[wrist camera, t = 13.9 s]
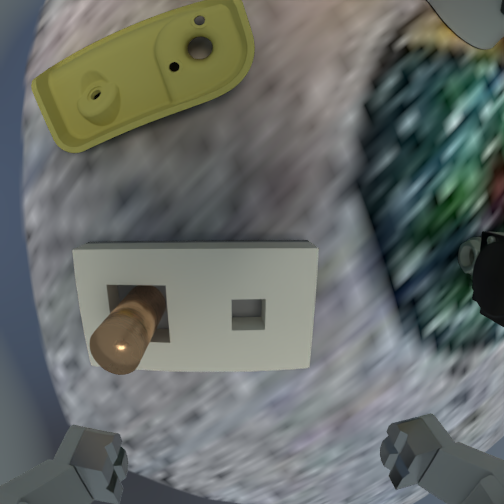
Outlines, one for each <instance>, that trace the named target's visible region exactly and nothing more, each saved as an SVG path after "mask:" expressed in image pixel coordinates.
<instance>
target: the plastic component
mask: <svg viewBox="0 0 504 504" xmlns="http://www.w3.org/2000/svg"><path fill="white" fill-rule="evenodd" d="M198 16H203V17H204V18H205V23H204V24H203V25H196V24H195V23H194V19H195V18H196V17H198ZM196 37H205V38H208V39H209V40H210V41H211V43H212V46H213V48H212V52H211V54H210V55H209V56H208V57H206V58H204V59H195V58H193V57H191V56H190V55H189V53H188V44H189V42H190V41H191V40H192V39H194V38H196ZM254 49H255V46H254V38H253V34H252V31H251V27H250V24H249V21H248V18H247V15H246V12H245V9H244V6H243V3H242V1H241V0H204V1H200V2H197V3H193V4H190V5H187V6H183V7H180V8H177V9H174V10H171V11H168V12H165V13H162V14H159V15H157V16H154V17H151V18H149V19H146V20H144V21H141V22H139V23H136V24H134V25H131V26H129V27H127V28H124V29H122V30H120V31H118V32H115V33H113V34H111V35H109V36H107V37H105V38H103V39H101V40H99V41H97V42H95V43H93V44H91V45H89V46H87V47H85V48H83V49H81V50H79V51H78V52H76V53H74V54H72V55H70V56H69V57H67V58H65V59H63V60H62V61H60V62H59V63H57V64H55V65H54V66H52V67H51V68H49V69H48V70H46V71H45V72H43V73H42V74H40V75H39V76H37V77H36V78H35V79H33V81H32V85H31V86H32V91H33V94H34V96H35V99H36V101H37V103H38V106H39V108H40V110H41V113H42V115H43V117H44V120H45V122H46V124H47V126H48V128H49V131H50V133H51V135H52V137H53V139H54V141H55V143H56V144H57V145H58V146H59V147H60V148H61V149H62V150H65V151H67V152H70V153H79V152H83V151H85V150H87V149H89V148H91V147H93V146H95V145H98V144H100V143H102V142H104V141H106V140H109V139H111V138H113V137H115V136H118V135H120V134H122V133H125V132H127V131H129V130H132V129H134V128H137V127H139V126H142V125H144V124H147V123H149V122H152V121H155V120H157V119H160V118H163V117H165V116H168V115H171V114H174V113H176V112H179V111H182V110H185V109H188V108H190V107H193V106H196V105H199V104H202V103H204V102H207V101H209V100H212V99H214V98H216V97H219V96H221V95H223V94H225V93H226V92H228V91H230V90H231V89H233V88H234V87H235V86H237V85H238V84H239V83H240V82H241V81H242V80H243V78H244V77H245V76H246V74H247V73H248V71H249V69H250V67H251V65H252V62H253V58H254ZM172 62H177V63H178V64H179V66H180V67H179V70H178V71H175V72H173V71H171V70H170V67H169V66H170V64H171V63H172ZM98 93H101V94H100V96H99V97H98V98H97V99H95V100H94V97H95V95H96V94H98Z"/></svg>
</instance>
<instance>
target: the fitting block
mask: <svg viewBox="0 0 504 504" xmlns="http://www.w3.org/2000/svg"><path fill="white" fill-rule="evenodd" d="M72 251H73V261H74V270H75V279H76V286H77V293H78V300H79V306H80V312H81V318H82V324H83V329H84V334H85V339H86V344H87V349H88V353H89V358H90V362H91V366H100V365H99V364H98V363H97V362H96V361H95V359H94V358H93V356H92V354H91V351H90V338H91V336H92V334H93V333H94V331H95V330H96V329H97V328H98V327H99V326H100V324H101V323H102V322H103V321H104V320H105V319H106V318H107V317H108V315H109V314H110V313H111V312H112V311H113V310H114V309H115V308H116V306H117V305H118V304H119V303H120V302H121V301H122V300H123V299H124V298H125V296H126V295H127V294H128V293H129V292H130V291H131V290H132V289H133V288H134V287H136V286H138V285H152V286H154V287H156V288H157V289H158V290H159V291H160V292H161V293H162V294H163V296H164V298H165V302H166V309H165V312H164V314H163V316H162V318H161V320H160V322H159V324H158V326H157V328H156V330H155V332H154V334H153V336H152V338H151V340H150V343H149V345H148V347H147V349H146V351H145V353H144V355H143V357H142V359H141V361H140V363H139V365H138V367H137V368H136V370H153V371H179V372H245V371H271V370H288V369H302V368H309V363H310V354H311V344H312V334H313V323H314V311H315V298H316V284H317V269H318V251H319V248H318V247H316V246H315V245H313V244H312V243H310V242H309V241H308V240H211V241H114V242H88V243H86V244H84V245H81V246H79V247H77V248H75V249H73V250H72ZM100 367H101V366H100Z"/></svg>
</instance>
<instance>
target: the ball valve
mask: <svg viewBox="0 0 504 504" xmlns="http://www.w3.org/2000/svg"><path fill="white" fill-rule="evenodd" d="M458 263H459V265H460V267H461V268H462V270H463V271H464V272H465V273H469V274H470V275H471V279H472V282H473V284H472V289H473V291H474V292H473V297H472V299H473V300H474V301H476V302H477V303H478V305H479V306H480V308H481V310H480V313H481V314H482V315H484V316H486V317H487V318H489V319H491V320H492V321H494V322H496V323H497V324H499V325H501V326H502V327H504V232H482V237H472V238H470V239H469V240H468V241H466V242H464V243H463V244H461V245H460V247H459V252H458Z"/></svg>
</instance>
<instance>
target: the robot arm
mask: <svg viewBox="0 0 504 504" xmlns="http://www.w3.org/2000/svg"><path fill="white" fill-rule="evenodd" d="M427 1H428V2H429V3H430V4H431V5H432V7H433V8H434V9H435V11H436V12H437V13H438V15H439V16H440V17H441V18H442V20H443V21H444V22H445V23H446V24H447V25H448V26H449V27H450V28H451V29H452V30H453V31H454V32H455V33H456V34H457V35H458V36H459V37H461V38H462V39H463V40H465V41H466V42H467V43H469V44H471V45H473V46H475V47H477V48H480V49H490V48H492V47H494V46H495V44H496V43H497V42H498V41H499V40H500V39H502V38H503V37H504V0H427ZM387 434H388V435H389V436H388V437H386V438H385V439H384V440H383V441H382V444H381V447H380V457H381V461H382V463H383V465H384V467H386V468H388V469H390V473H389V477H390V479H391V481H392V483H393V485H394V487H395V489H396V490H398V489H401V488H405V487H408V486H411V485H415V484H418V485H419V486H421V487H422V488H424V489H425V490H427V491H428V492H430V493H431V494H433V495H434V496H436V497H437V498H439V499H440V500H442V501H444V502H445V503H447V504H504V460H502V459H499V458H497V457H494V456H492V455H489V454H487V453H484V452H482V451H479V450H477V449H475V448H472V447H470V446H467V445H465V444H463V443H460V442H457V443H455V442H454V440H453V439H452V438H451V437H450V435H449V434H448V433H447V431H446V430H445V429H444V427H443V426H442V425H441V423H440V422H439V421H438V420H437V418H436V417H435V416H434V415H433V414H431V413H430V414H427V415H423V416H419V417H415V418H411V419H407V420H403V421H399V422H395V423H392V424H391V425H390V426H389V427H388V429H387ZM121 444H122V439H121V437H120V434H118V433H113V432H107V431H102V430H97V429H92V428H87V427H82V426H77V425H72V426H71V427H70V428H69V429H68V431H67V433H66V435H65V437H64V439H63V441H62V443H61V445H60V447H59V449H58V451H57V453H56V455H55V457H54V459H53V460H50V459H49V460H47V461H45V462H43V463H42V464H40V465H38V466H36V467H34V468H33V469H31V470H29V471H27V472H25V473H23V474H22V475H20V476H18V477H16V478H14V479H12V480H10V481H9V482H7V483H5V484H3V485H1V486H0V504H91V503H92V502H93V500H98V501H103V502H108V503H114V504H119V503H120V499H121V495H122V491H123V487H122V485H121V481H122V480H123V479H125V478H126V476H127V471H128V458H127V454H126V451H125V450H124V449H123V448H122V447H121Z"/></svg>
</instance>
